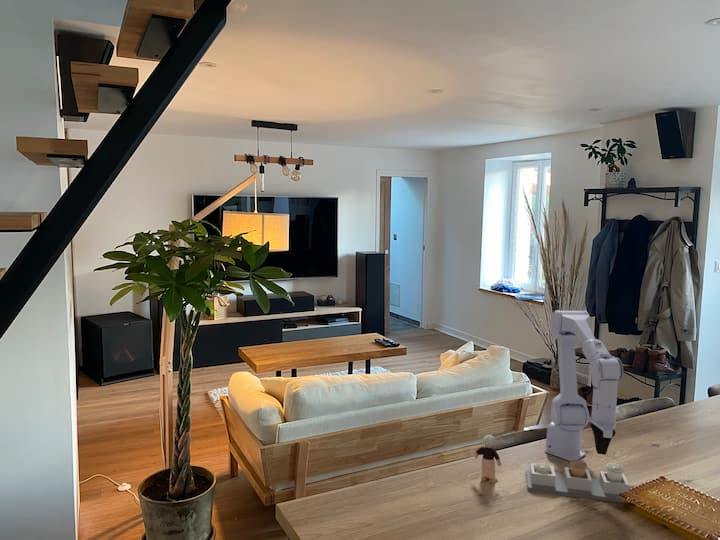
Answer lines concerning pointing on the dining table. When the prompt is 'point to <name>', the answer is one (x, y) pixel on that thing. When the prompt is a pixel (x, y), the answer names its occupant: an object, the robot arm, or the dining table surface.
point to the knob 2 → (614, 472)
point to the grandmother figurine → (488, 459)
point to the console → (576, 484)
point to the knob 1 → (542, 468)
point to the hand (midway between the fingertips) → (601, 453)
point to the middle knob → (578, 468)
